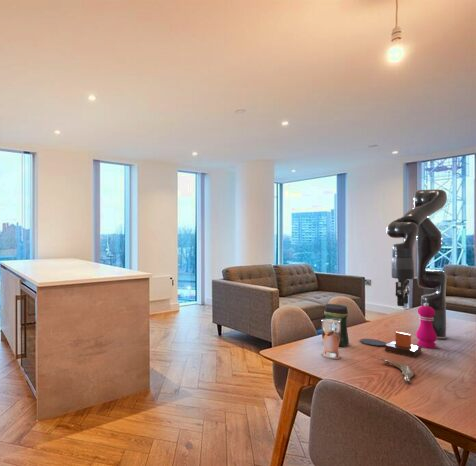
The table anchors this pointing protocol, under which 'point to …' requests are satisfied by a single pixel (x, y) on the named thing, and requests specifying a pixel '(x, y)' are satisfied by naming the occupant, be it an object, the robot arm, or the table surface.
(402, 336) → the orange rectangular block
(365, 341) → the coaster
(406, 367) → the jawbone
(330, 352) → the beer glass
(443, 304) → the robot arm
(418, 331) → the pepper mill
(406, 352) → the holder
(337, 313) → the coffee jar
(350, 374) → the table surface
